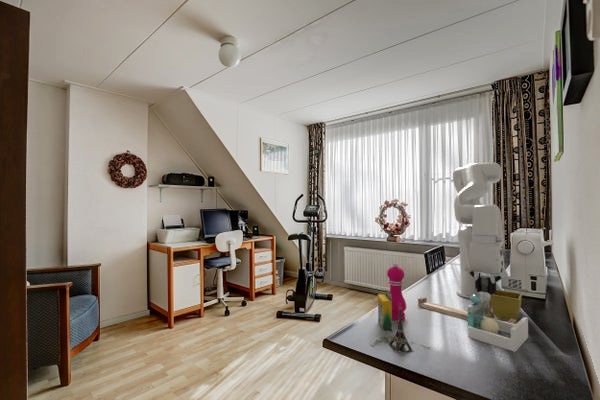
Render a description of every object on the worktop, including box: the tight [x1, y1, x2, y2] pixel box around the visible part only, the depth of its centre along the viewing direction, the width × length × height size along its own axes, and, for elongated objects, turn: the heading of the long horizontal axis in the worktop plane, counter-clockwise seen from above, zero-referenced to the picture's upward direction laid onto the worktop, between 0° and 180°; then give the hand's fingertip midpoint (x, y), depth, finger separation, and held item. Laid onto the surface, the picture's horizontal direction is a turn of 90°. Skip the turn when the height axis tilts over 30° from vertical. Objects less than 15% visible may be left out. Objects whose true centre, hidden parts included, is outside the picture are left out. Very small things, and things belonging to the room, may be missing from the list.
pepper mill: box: [386, 262, 407, 321], centre depth 104 cm, size 7×7×20 cm
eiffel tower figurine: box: [370, 306, 433, 354], centre depth 82 cm, size 15×10×13 cm
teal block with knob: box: [467, 274, 495, 329], centre depth 96 cm, size 16×4×15 cm, turn 130°
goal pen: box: [467, 316, 529, 353], centre depth 89 cm, size 14×12×6 cm
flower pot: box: [491, 289, 523, 322], centre depth 103 cm, size 9×9×9 cm
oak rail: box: [417, 296, 517, 324], centre depth 105 cm, size 4×32×3 cm, turn 39°
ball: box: [480, 318, 500, 335], centre depth 90 cm, size 5×5×5 cm
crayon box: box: [377, 289, 393, 332], centre depth 96 cm, size 7×3×12 cm, turn 178°
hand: (485, 292), depth 100 cm, fingers closed on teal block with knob, 3 cm apart
